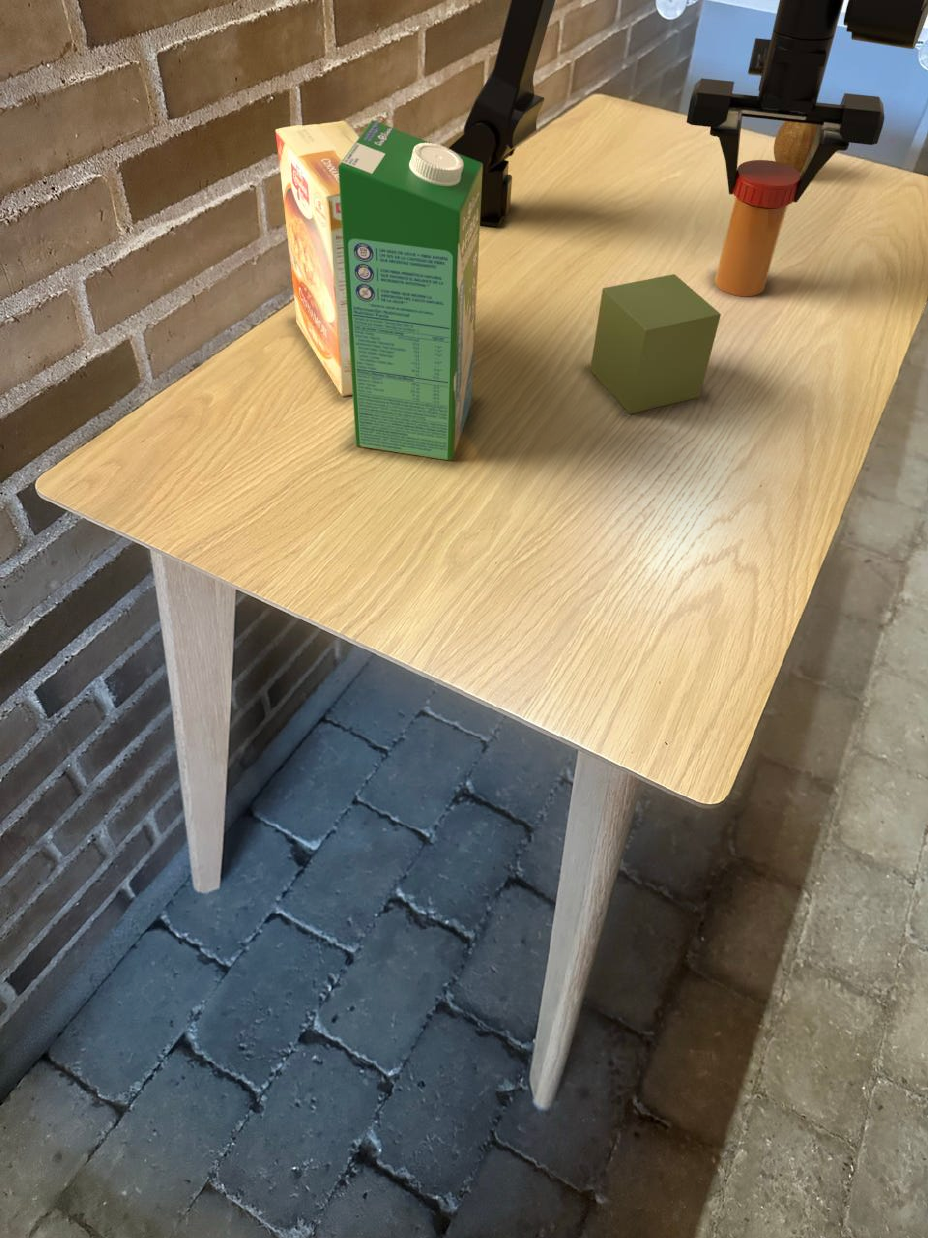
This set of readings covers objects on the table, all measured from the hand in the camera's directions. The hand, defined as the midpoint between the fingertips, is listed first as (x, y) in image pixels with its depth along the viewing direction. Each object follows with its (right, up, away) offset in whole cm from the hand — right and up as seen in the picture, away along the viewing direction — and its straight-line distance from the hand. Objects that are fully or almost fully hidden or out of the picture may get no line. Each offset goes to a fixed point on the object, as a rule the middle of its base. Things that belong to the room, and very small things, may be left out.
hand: (763, 196), depth 101 cm
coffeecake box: (-44, -18, -5) cm, 48 cm away
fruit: (+13, +16, +29) cm, 36 cm away
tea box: (-14, -22, -7) cm, 27 cm away
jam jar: (0, -7, +7) cm, 10 cm away
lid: (0, +1, -2) cm, 2 cm away
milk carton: (-37, -27, -13) cm, 48 cm away
